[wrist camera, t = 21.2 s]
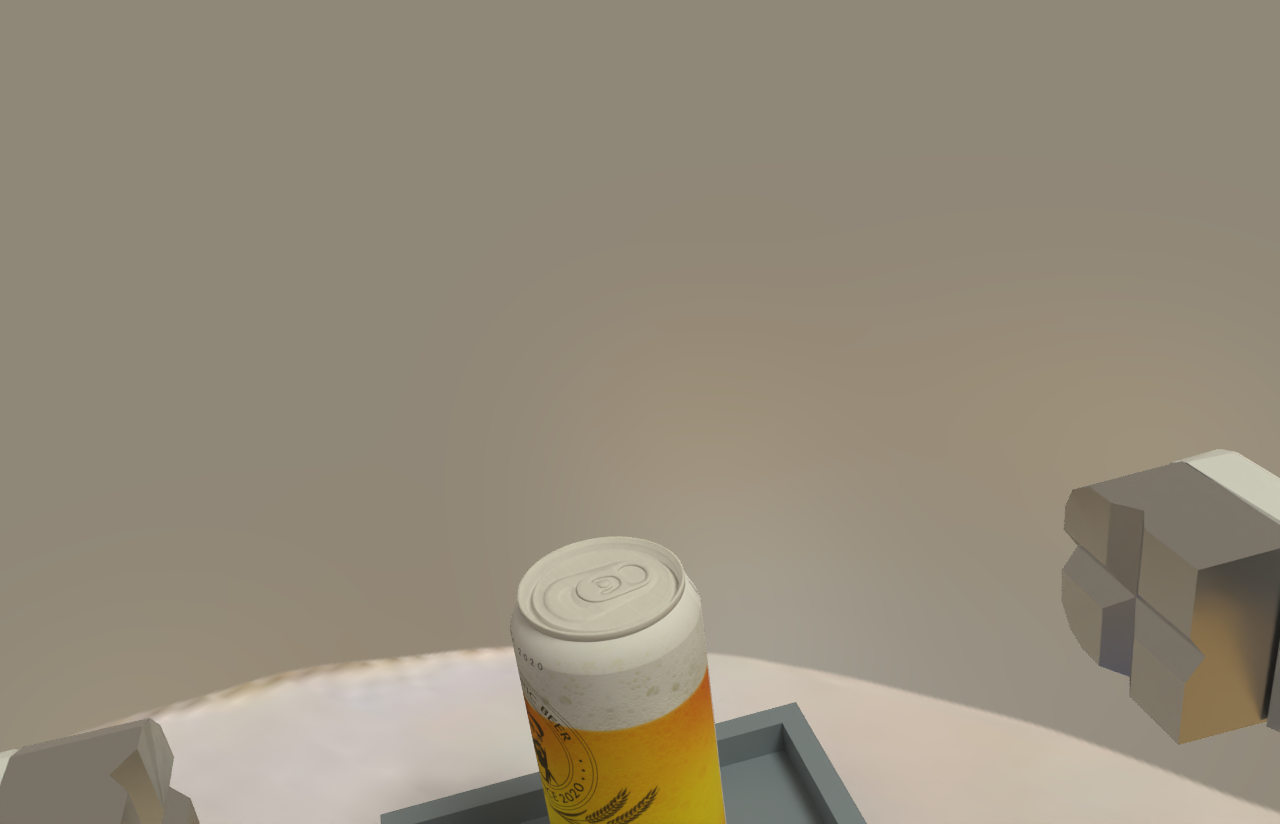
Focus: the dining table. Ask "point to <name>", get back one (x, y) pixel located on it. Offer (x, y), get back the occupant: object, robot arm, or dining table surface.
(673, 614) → the beer can
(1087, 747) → the dining table surface
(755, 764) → the tray
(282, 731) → the dining table surface
